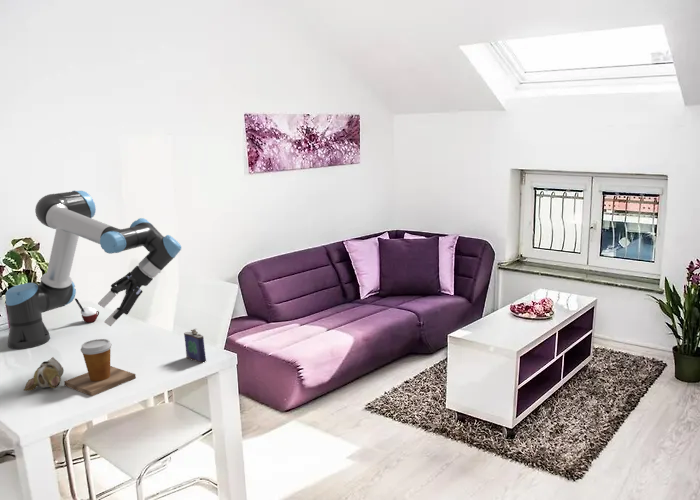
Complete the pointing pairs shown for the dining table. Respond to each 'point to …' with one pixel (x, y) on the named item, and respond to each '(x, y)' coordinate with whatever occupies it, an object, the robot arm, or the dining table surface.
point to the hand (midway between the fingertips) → (103, 314)
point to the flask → (195, 346)
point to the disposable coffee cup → (97, 358)
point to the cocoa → (88, 313)
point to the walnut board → (99, 382)
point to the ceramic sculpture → (46, 375)
